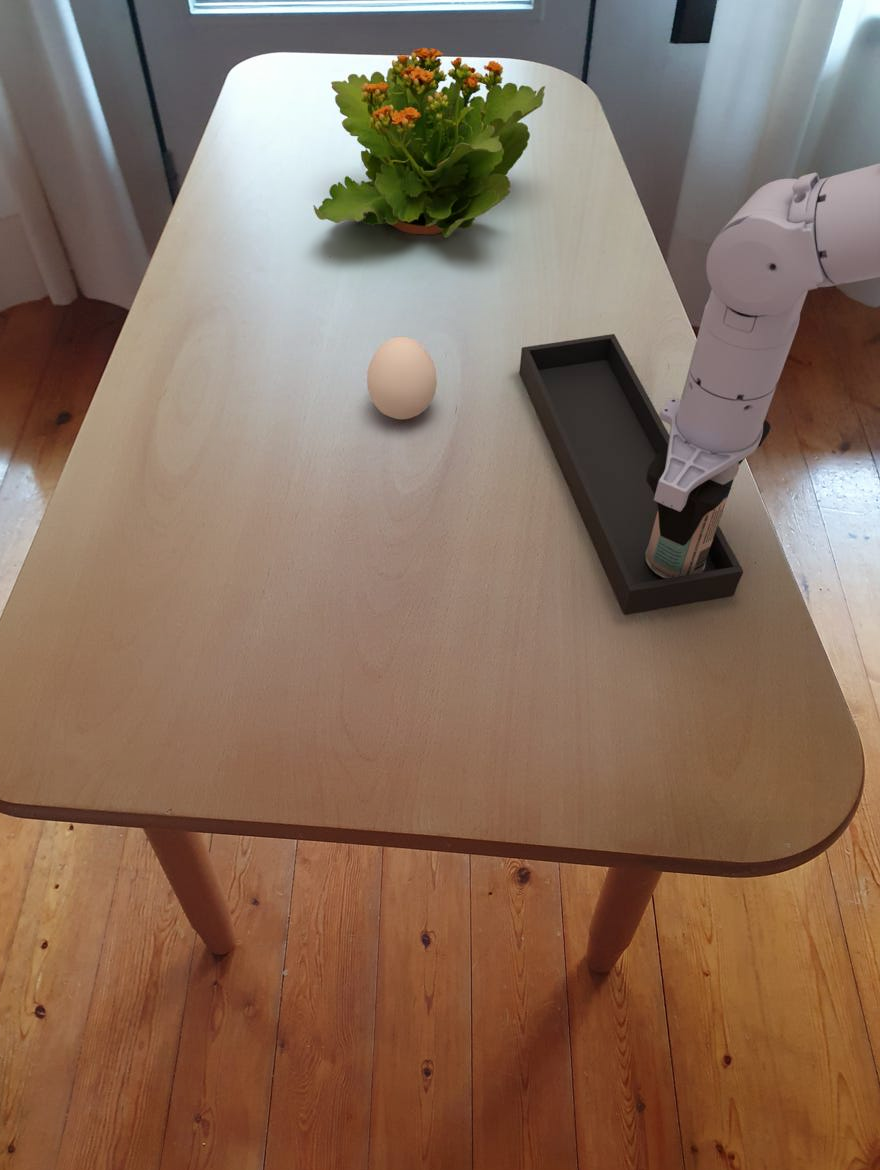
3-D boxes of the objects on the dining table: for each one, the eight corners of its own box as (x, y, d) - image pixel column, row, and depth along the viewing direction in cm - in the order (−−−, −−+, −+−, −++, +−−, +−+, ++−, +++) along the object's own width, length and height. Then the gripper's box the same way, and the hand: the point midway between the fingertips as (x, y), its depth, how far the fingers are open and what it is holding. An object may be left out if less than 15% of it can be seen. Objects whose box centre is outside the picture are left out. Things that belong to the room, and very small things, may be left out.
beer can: (701, 542, 81) (738, 431, 71) (706, 587, 78) (746, 477, 68) (642, 539, 81) (671, 428, 71) (645, 583, 78) (676, 473, 69)
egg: (392, 382, 95) (389, 311, 88) (449, 404, 92) (450, 333, 86) (355, 420, 91) (350, 349, 85) (413, 444, 89) (412, 373, 83)
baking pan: (733, 595, 78) (743, 571, 76) (623, 615, 77) (630, 590, 75) (609, 359, 96) (614, 333, 93) (519, 372, 95) (521, 347, 93)
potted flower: (343, 152, 121) (332, -7, 107) (536, 158, 119) (550, -3, 105) (313, 269, 106) (296, 103, 92) (532, 277, 104) (549, 109, 90)
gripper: (721, 297, 69) (681, 442, 80) (628, 411, 62) (598, 553, 73) (818, 331, 67) (763, 476, 77) (732, 453, 60) (685, 594, 71)
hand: (688, 516), depth 75 cm, fingers closed on beer can, 5 cm apart
